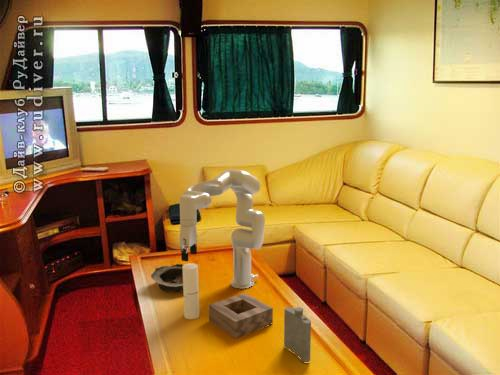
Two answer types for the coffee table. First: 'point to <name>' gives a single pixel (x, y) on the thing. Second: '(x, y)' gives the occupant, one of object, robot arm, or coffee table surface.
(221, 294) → the coffee table surface
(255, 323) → the walnut well block
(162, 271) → the stone bowl
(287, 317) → the hip flask
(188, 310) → the cylindrical container
